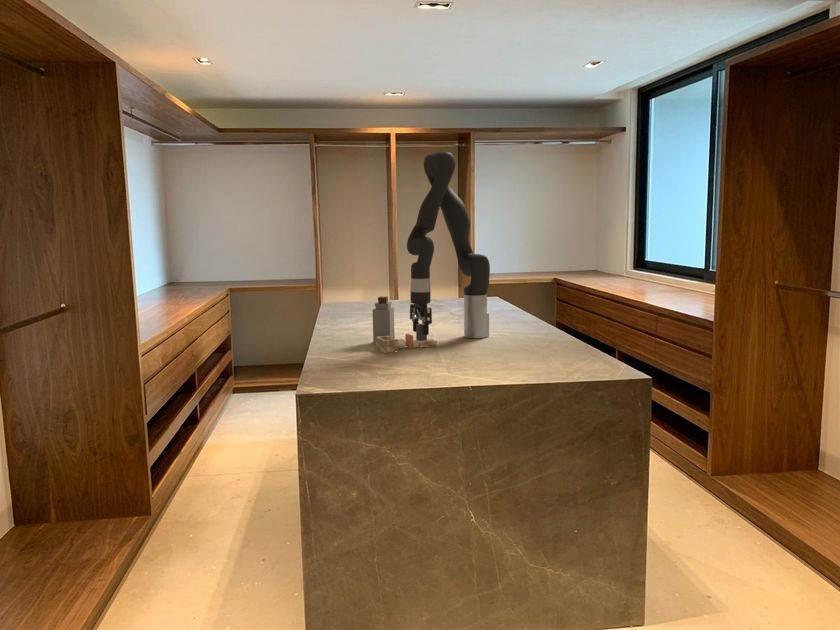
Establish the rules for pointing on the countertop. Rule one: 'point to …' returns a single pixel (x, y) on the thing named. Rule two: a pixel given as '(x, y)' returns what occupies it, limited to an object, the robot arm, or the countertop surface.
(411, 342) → the gray block
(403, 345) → the ball
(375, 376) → the countertop surface
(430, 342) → the rail guide
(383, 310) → the perfume bottle
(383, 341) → the box
